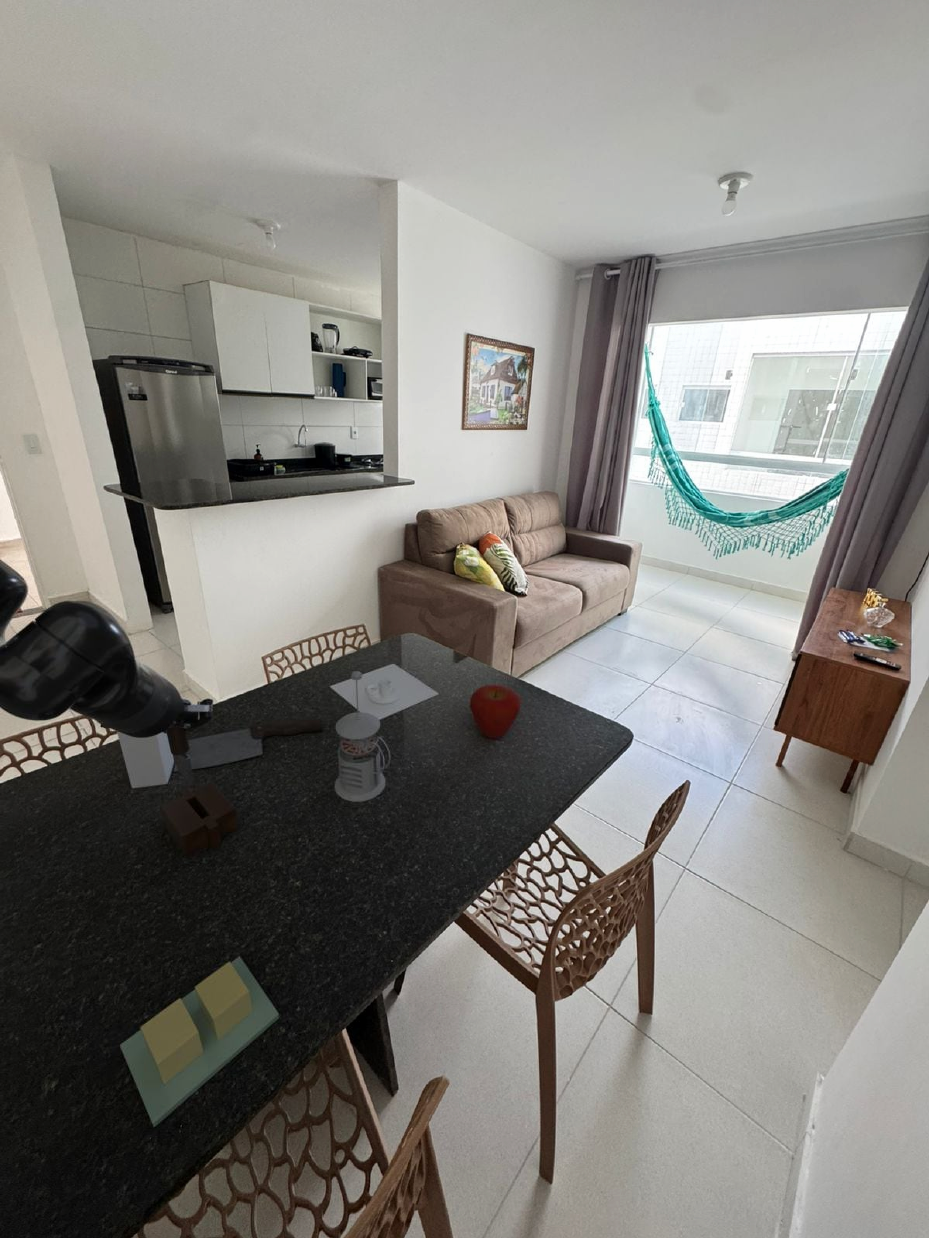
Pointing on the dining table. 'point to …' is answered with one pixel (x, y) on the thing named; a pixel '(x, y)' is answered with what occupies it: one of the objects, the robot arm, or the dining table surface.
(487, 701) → the apple
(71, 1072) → the dining table surface
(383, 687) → the teacup and saucer
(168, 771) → the milk
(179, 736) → the wood-handled utensil
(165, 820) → the knife block
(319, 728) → the cleaver
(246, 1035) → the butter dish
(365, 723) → the french press
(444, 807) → the dining table surface
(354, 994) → the dining table surface
